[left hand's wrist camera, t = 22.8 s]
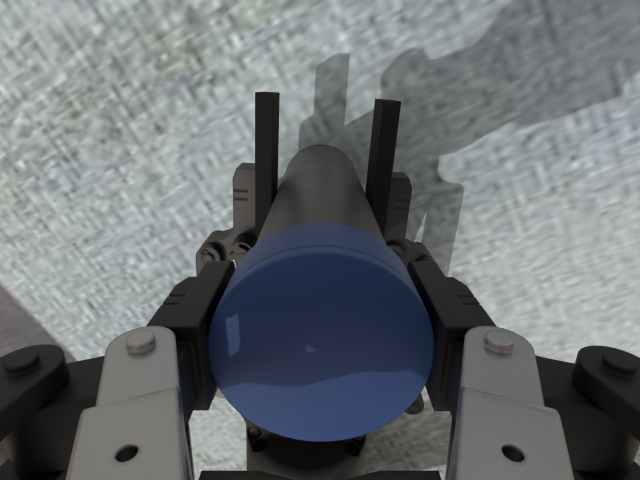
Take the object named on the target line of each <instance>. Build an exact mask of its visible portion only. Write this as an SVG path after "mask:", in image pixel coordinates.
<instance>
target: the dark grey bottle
mask: <svg viewBox="0 0 640 480" xmlns="http://www.w3.org/2000/svg"><path fill="white" fill-rule="evenodd" d="M310 222H333V223H339V224H345V225H349V226H352V227H355V228H358V229H361V230H363V231H365V232H367V233H370V234H371V235H373V236H375V237H376V238H378V239H380V240H381V241H382V242H384V243H385V241H384V238H383V236H382V234H381V231H380V229H379V226H378V224H377V222H376V219H375V217H374V214H373V212H372V210H371V207H370V205H369V203H368V200H367V198H366V195H365V193H364V191H363V188H362V186H361V183H360V181H359V179H358V176H357V174H356V171H355V169H354V167H353V164H352V163H351V161H350V160H349V158H348V157H347V156H346V155H345V154H344V153H343V152H341V151H340V150H338V149H336V148H334V147H331V146H327V145H315V146H311V147H307V148H305V149H303V150H302V151H300V152H299V153H298V154H296V155H295V156H294V158H293V159H292V160H291V162H290V163H289V165H288V167H287V170H286V172H285V175H284V177H283V179H282V182H281V184H280V187H279V189H278V192H277V194H276V196H275V199H274V201H273V204H272V206H271V208H270V211H269V213H268V216H267V218H266V221H265V223H264V225H263V228H262V230H261V233H260V235H259V238H258V240H257V242H256V244H257V243H258V242H260V241H261V240H263V239H264V238H266V237H267V236H269V235H271V234H273V233H275V232H277V231H279V230H281V229H284V228H287V227H290V226H293V225H298V224H303V223H310ZM385 244H386V243H385Z"/></svg>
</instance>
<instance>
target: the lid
mask: <svg viewBox="0 0 640 480" xmlns="http://www.w3.org/2000/svg"><path fill="white" fill-rule="evenodd" d="M434 342H435V340H434V331H433V327H432V324H431V320H430V317H429V315H428V313H427V311H426V309H425V306H424V304H423V302H422V300H421V298H420V296H419V294H418V292H417V290H416V288H415V285H414V283H413V281H412V279H411V277H410V275H409V273H408V271H407V269H406V267H405V265H404V264H403V262H402V261H401V260H400V258H399V257H398V256H397V255H396V254H395V252H394V251H393V250H392V249H391V248H390V247H388V246H387V245H386V244H385V243H384V242H382V241H381V240H380V239H378V238H376V237H375V236H373V235H371V234H370V233H367V232H365V231H363V230H361V229H358V228H355V227H352V226H349V225H345V224H339V223H333V222H310V223H303V224H298V225H293V226H290V227H287V228H284V229H281V230H279V231H277V232H275V233H273V234H271V235H269V236H267V237H266V238H264V239H263V240H261V241H260V242H258V243H257V244H256V245H255V246H254V247H253V248H251V249H250V250H249V251H248V252H247V254H246V255H245V256H244V257H243V258H242V259H241V261H240V262H239V264H238V266H237V267H236V269H235V270H234V273H233V275H232V277H231V279H230V281H229V283H228V285H227V288H226V290H225V292H224V294H223V296H222V298H221V300H220V302H219V305H218V307H217V309H216V311H215V314H214V316H213V318H212V321H211V325H210V329H209V332H208V347H209V356H210V364H211V371H212V374H213V377H214V379H215V382H216V384H217V386H218V387H219V389H220V391H221V393H222V394H223V395H224V397H225V398H226V399H227V401H228V402H229V403H230V404H231V405H232V406H233V407H234V408H235V409H236V410H237V411H238V412H239V413H240V414H242V415H243V416H244V417H245V418H247V419H248V420H250V421H251V422H253V423H255V424H256V425H258V426H259V427H262V428H264V429H266V430H268V431H270V432H273V433H275V434H278V435H281V436H284V437H289V438H293V439H297V440H305V441H320V442H325V441H338V440H344V439H350V438H354V437H357V436H361V435H364V434H367V433H369V432H372V431H375V430H377V429H379V428H380V427H382V426H384V425H386V424H388V423H389V422H391V421H392V420H394V419H395V418H397V417H398V416H399V415H401V414H402V413H403V412H404V411H405V410H406V409H407V408H408V407H409V406H410V405H411V404H412V403H413V402H414V401H415V400H416V398H417V397H418V396H419V394H420V393H421V391H422V390H423V388H424V386H425V384H426V382H427V380H428V378H429V375H430V372H431V367H432V360H433V351H434Z"/></svg>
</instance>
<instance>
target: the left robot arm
mask: <svg viewBox="0 0 640 480" xmlns="http://www.w3.org/2000/svg"><path fill="white" fill-rule="evenodd" d="M234 270H235V265H234V262H233V261H207V262H206V264H205V265H204V267H203V268H202V270H201V271H200V273H199V274H198V276H197V277H188V278H186V279H185V280H183V281H182V282H180V283H179V284H177V285H176V286H175V287H174V288H173V290H172V291H171V293H170V294H169V297H167V298H166V299H165V301H164V302H163V305H161V306H160V308H159V309H158V310H157V312H156V313H155V315H154V316H153V317H152V319H151V320H150V321H149V323H148V324H147V326H146V327H141V328H136V329H133V330H130V331H128V332H125V333H123V334H122V335H120V336H118V337H117V338H115V339H114V340H113V341H112V342H111V343H110V344H109V345H108V347H107V349H106V352H105V356H101V357H97V358H92V359H87V360H82V361H77V362H71V363H67V362H66V359H65V355H64V352H63V350H62V349H61V348H60V347H58V346H54V345H35V346H30V347H26V348H22V349H19V350H16V351H13V352H11V353H9V354H7V355H5V356H3V357H1V358H0V442H1V441H2V440H3V442H4V444H5V447H6V450H7V452H8V455H9V457H10V458H9V459H8V460H7V461H6V462H4V463H3V464H2V465H1V466H0V480H195V476H194V467H193V457H192V447H191V437H190V429H189V419H190V417H191V414H192V412H193V410H209V408H210V405H211V402H212V399H213V396H214V393H215V390H216V387H217V384H216V382H215V379H214V377H213V374H212V371H211V364H210V356H209V347H208V332H209V329H210V325H211V321H212V318H213V316H214V314H215V311H216V309H217V307H218V305H219V302H220V300H221V298H222V296H223V294H224V292H225V290H226V288H227V285H228V283H229V281H230V279H231V277H232V275H233V273H234ZM407 271H408V273H409V275H410V277H411V279H412V281H413V283H414V285H415V288H416V290H417V292H418V294H419V296H420V298H421V300H422V302H423V304H424V306H425V309H426V311H427V313H428V315H429V317H430V320H431V324H432V327H433V331H434V340H435V342H434V351H433V360H432V367H431V372H430V375H429V378H428V380H427V382H426V384H425V386H426V389H427V392H428V395H429V398H430V401H431V403H432V406H433V409H434V411H450V413H451V415H452V422H451V429H450V437H449V447H448V457H447V466H446V476H445V480H640V466H639V465H638V464H637V463H636V462H634V459H635V456H636V453H637V451H638V448H639V446H640V358H639V357H637V356H635V355H633V354H630V353H628V352H625V351H622V350H619V349H616V348H611V347H606V346H587V347H584V348H582V349H581V350H580V351H579V352H578V355H577V358H576V362H575V364H574V363H568V362H563V361H558V360H553V359H548V358H543V357H539V356H536V355H535V352H534V349H533V347H532V345H531V344H530V343H529V342H528V341H527V340H526V339H525V338H523V337H522V336H520V335H518V334H517V333H515V332H512V331H510V330H507V329H504V328H499V327H497V326H496V325H495V324H494V322H493V321H492V320H491V318H490V317H489V315H488V314H487V313H486V311H485V310H484V309H483V307H482V306H481V305H479V302H478V301H477V299H476V298H475V297H474V295H473V294H472V292H471V291H470V290H469V288H468V287H467V286H466V285H465V284H463V283H462V282H460V281H458V280H457V279H455V278H454V277H445V276H444V274H443V273H442V271H441V270H440V268H439V267H438V265H437V264H436V262H435V261H409V263H408V266H407ZM199 480H294V479H290V478H286V477H283V476H279V475H275V474H271V473H267V472H263V471H201V474H200V477H199ZM346 480H441V477H440V474H439V471H377V472H373V473H369V474H365V475H361V476H357V477H354V478H350V479H346Z"/></svg>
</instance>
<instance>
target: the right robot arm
mask: <svg viewBox="0 0 640 480" xmlns="http://www.w3.org/2000/svg"><path fill="white" fill-rule="evenodd" d="M400 106H401V102H400V101H395V100H385V99H375V107H374V116H373V126H372V135H371V145H370V154H369V164H368V173H367V183H366V193H365V195H366V198H367V200H368V203H369V205H370V207H371V210H372V212H373V214H374V217H375V219H376V222H377V224H378V226H379V229H380V231H381V234H382V236H383V238H384V241H385V243H386V245H387V246H388V247H390V248H391V249H392V250H393V251H394V252H395V254H396V255H397V256H398V257H399V258H400V260H401V261H402V262H403V264H404V265H405V267H406V269H407V266H408V263H409V261H434V259H433V258H432V256H431V255H430V253H429V251H428V250H427V249H426V247H425V245H423V244H422V243H419V242H412V241H410V240H407V239H406V238H405V233H406V226H407V219H408V212H409V206H410V199H411V192H412V188H411V184H410V180H409V178H408V177H407V176H406V175H405V174H404V173H402V172H392V169H393V161H394V154H395V146H396V138H397V130H398V122H399V114H400ZM278 139H279V93H276V92H255V163H242V164H241V165H239V166H238V167H237V169H236V171H235V174H234V176H233V217H234V226H233V228H231V229H229V230H225V231H220V230H218V231H214V232H212V233H211V234H210V236H209V237H208V238H207V239H206V241H205V242H204V243H203V245H202V246H201V247H200V249H199V250H198V252H197V253H196V270H197V276H198V274H199V273H200V271H201V270H202V268H203V267H204V265H205V264H206V262H207V261H231V260H233V259H235V262H236V265H237V266H238V264H239V262H240V261H241V259H242V258H243V257H244V256H245V255H246V254H247V252H248V251H249V250H250V249H251V248H253V247H254V246H255V245H256V242H257V240H258V238H259V235H260V233H261V230H262V228H263V225H264V223H265V221H266V218H267V216H268V213H269V211H270V208H271V206H272V204H273V201H274V199H275V196H276V194H277V184H278ZM214 396H218V397H221V398H224V399H226V398H225V397H224V395H223V394H222V393H221V391H220V389H219V387H218V386H217V387H216V390H215V393H214ZM214 396H213V399H214ZM213 399H212V400H213ZM423 408H424V403H423V399H422V395H421V393H420V394H419V396H418V397H417V398H416V400H415V401H414V402H413V403H412V404H411V405H410V406H409V407H408V408H407V409H406V410H405V412H406V413H408V414H411V415H415V414H418V413H420V412H421V411H422V410H423ZM241 415H242V414H241ZM242 417H243V418H244V420H245V422H246V436H247V471H263V472H267V473H271V474H275V475H279V476H283V477H286V478H290V479H294V480H346V479H350V478H354V477H357V476H361V474H362V467H363V459H364V452H365V444H366V437H367V434H364V435H361V436H357V437H354V438H350V439H344V440H338V441H325V442H320V441H305V440H297V439H293V438H289V437H284V436H281V435H278V434H275V433H273V432H270V431H268V430H266V429H264V428H262V427H259V426H258V425H256V424H255V423H253V422H251V421H250V420H248V419H247V418H245V417H244V416H243V415H242Z"/></svg>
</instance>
